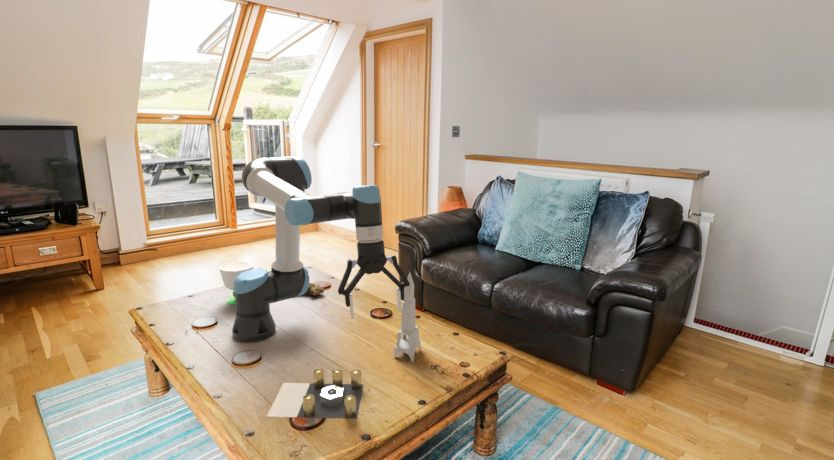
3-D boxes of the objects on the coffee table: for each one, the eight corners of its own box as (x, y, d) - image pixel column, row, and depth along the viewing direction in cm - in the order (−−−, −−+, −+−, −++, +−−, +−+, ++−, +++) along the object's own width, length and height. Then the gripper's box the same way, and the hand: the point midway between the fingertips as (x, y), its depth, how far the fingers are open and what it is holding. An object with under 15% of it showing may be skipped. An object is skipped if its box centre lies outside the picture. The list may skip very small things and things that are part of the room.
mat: (266, 418, 120) (266, 416, 120) (283, 384, 136) (283, 382, 136) (357, 420, 121) (357, 418, 121) (363, 386, 136) (363, 384, 136)
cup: (248, 307, 190) (246, 271, 186) (216, 306, 190) (213, 270, 186) (260, 295, 203) (258, 261, 200) (229, 294, 204) (227, 260, 200)
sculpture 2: (420, 350, 159) (423, 268, 152) (413, 361, 151) (415, 276, 144) (402, 346, 161) (404, 266, 154) (394, 357, 153) (395, 273, 146)
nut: (323, 409, 124) (323, 400, 123) (316, 397, 129) (316, 389, 128) (347, 402, 127) (347, 393, 127) (339, 391, 132) (339, 383, 132)
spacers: (302, 417, 120) (301, 400, 119) (315, 383, 136) (314, 368, 135) (355, 418, 121) (355, 401, 119) (361, 384, 136) (361, 369, 135)
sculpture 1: (288, 289, 212) (288, 279, 211) (325, 294, 207) (325, 283, 206) (279, 295, 205) (278, 284, 204) (317, 300, 200) (316, 289, 199)
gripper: (325, 247, 120) (332, 324, 123) (416, 237, 126) (421, 311, 128) (324, 243, 128) (331, 315, 130) (410, 234, 133) (415, 304, 136)
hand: (376, 314), depth 129 cm, fingers open, 13 cm apart
